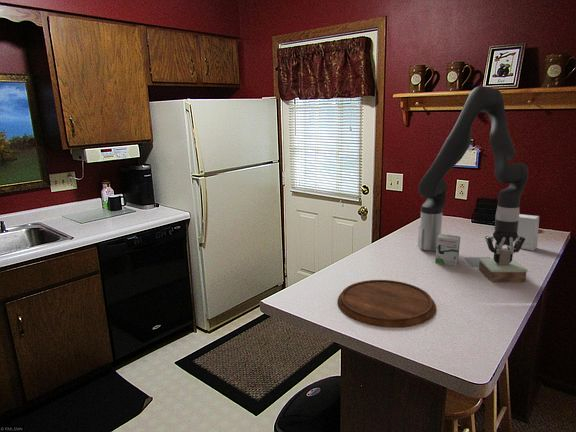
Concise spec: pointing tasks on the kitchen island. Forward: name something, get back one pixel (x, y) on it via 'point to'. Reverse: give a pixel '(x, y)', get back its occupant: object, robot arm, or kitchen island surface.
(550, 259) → the kitchen island surface
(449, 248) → the ink box
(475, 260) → the felt mat
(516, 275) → the box
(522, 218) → the skincare box
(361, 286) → the cutting board
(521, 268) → the lid
